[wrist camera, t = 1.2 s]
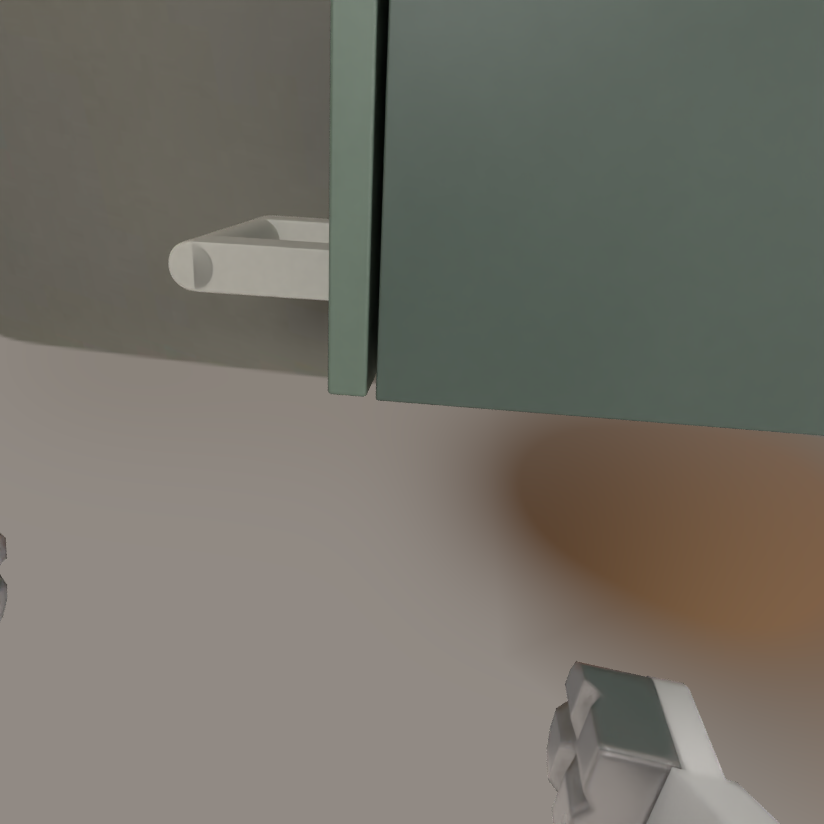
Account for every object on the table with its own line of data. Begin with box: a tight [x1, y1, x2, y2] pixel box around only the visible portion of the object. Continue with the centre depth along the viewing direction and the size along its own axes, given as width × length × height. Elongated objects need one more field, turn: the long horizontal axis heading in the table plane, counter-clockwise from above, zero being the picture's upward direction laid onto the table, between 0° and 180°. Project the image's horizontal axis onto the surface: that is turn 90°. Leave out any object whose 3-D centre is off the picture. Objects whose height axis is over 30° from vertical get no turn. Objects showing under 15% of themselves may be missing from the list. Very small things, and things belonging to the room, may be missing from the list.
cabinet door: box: [168, 0, 389, 396], centre depth 24 cm, size 7×16×20 cm, turn 177°
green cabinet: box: [376, 0, 824, 436], centre depth 23 cm, size 13×16×20 cm
